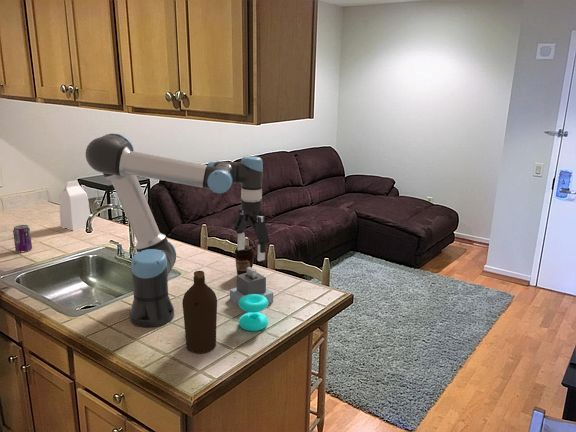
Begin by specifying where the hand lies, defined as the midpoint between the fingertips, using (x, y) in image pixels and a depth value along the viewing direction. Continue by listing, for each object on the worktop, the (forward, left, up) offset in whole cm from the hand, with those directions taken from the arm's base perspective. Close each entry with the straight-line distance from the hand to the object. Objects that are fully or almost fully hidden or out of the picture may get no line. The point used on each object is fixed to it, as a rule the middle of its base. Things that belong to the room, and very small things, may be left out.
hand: (250, 254), depth 180 cm
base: (0, 0, -19) cm, 19 cm away
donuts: (-10, -17, -19) cm, 27 cm away
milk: (-28, +135, -19) cm, 139 cm away
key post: (0, 0, -15) cm, 15 cm away
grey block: (0, 0, -15) cm, 15 cm away
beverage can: (-59, +109, -19) cm, 125 cm away
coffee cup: (+11, +22, -19) cm, 31 cm away
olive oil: (-31, -18, -19) cm, 40 cm away
